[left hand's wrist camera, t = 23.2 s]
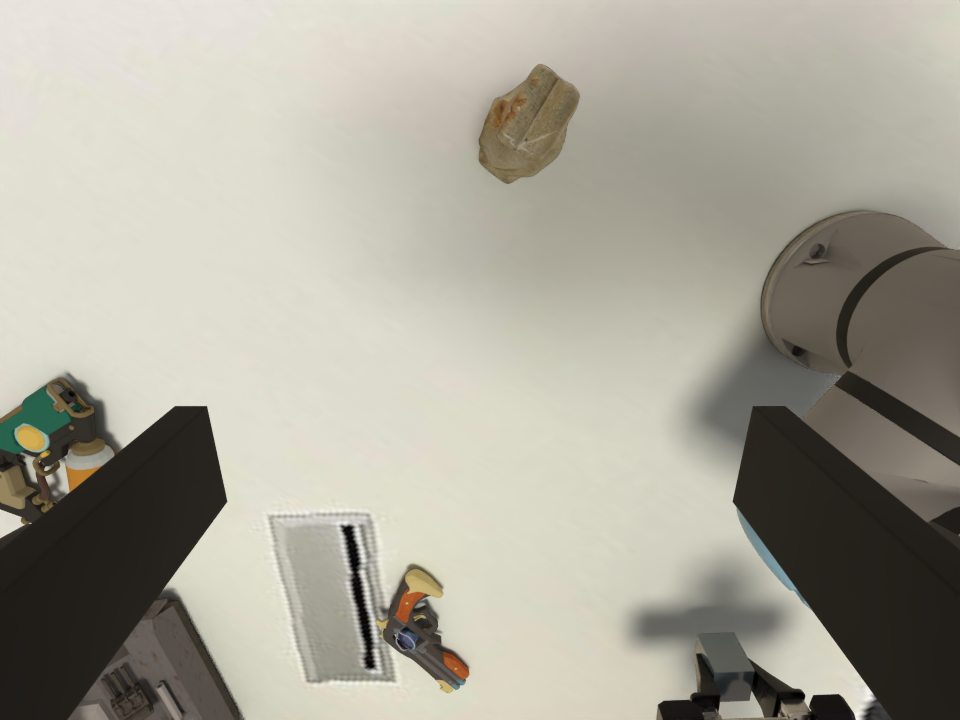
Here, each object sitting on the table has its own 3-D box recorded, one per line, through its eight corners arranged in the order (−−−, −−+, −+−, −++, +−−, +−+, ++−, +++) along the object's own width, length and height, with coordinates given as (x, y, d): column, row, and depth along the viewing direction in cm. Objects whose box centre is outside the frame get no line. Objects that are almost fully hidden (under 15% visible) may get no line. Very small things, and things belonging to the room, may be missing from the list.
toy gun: (416, 575, 60) (349, 622, 61) (509, 661, 67) (448, 702, 68) (416, 559, 62) (351, 604, 63) (506, 643, 69) (446, 683, 70)
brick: (697, 633, 61) (714, 672, 56) (734, 632, 61) (755, 671, 56) (693, 662, 62) (710, 702, 58) (729, 660, 62) (749, 700, 58)
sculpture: (568, 122, 45) (608, 107, 31) (516, 192, 47) (531, 208, 33) (515, 76, 43) (532, 37, 29) (463, 150, 45) (456, 147, 31)
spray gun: (27, 514, 60) (-46, 399, 56) (153, 490, 58) (87, 368, 53) (-7, 539, 56) (-90, 417, 52) (126, 514, 54) (52, 384, 49)
